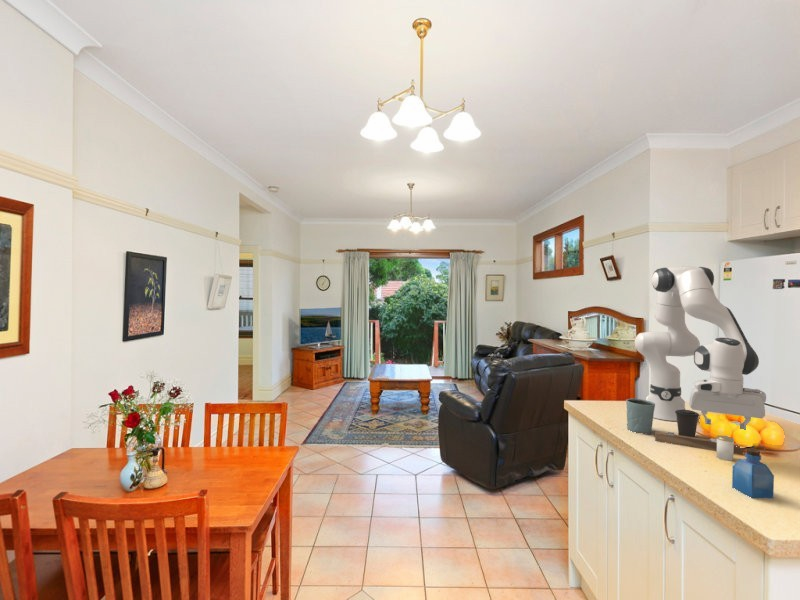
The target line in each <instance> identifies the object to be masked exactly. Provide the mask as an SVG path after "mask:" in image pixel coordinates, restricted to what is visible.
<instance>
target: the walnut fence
mask: <svg viewBox="0 0 800 600" xmlns="http://www.w3.org/2000/svg"><path fill="white" fill-rule="evenodd" d="M658 441H660V443H665V442H666V444H671V443H672V445H679V446H683V447H684V446H685V447H689V448H690V447H691V448H696V449H702V450H703V449H704V450H710V451H714V452H717V438H709V439H705V438H699V437H695V438H694V437H687V436H681V435H679V434H675V433H674V432H672V431H667V432H666V433H665V432H660V431H654V442H658ZM736 446H737V447H736ZM734 453H735V455H738V456H739V455H740V456H744V448H740V446H738V445H734Z"/></svg>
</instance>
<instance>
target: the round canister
mask: <svg viewBox="0 0 800 600" xmlns="http://www.w3.org/2000/svg"><path fill="white" fill-rule="evenodd" d="M716 439H717V451H716V458H717V459H719V460H722V461H728V462H729V461H730V462H731V461H734V439H733V438H731V437H728V436H727V435H717V436H716Z"/></svg>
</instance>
